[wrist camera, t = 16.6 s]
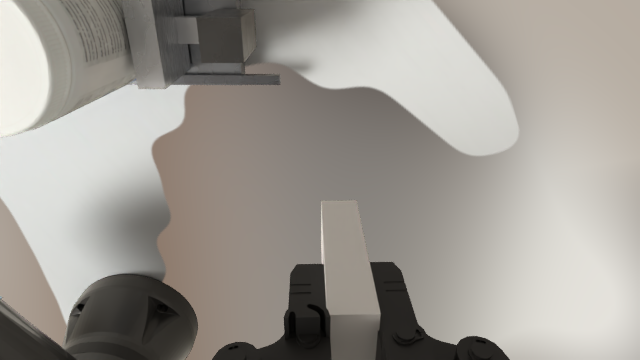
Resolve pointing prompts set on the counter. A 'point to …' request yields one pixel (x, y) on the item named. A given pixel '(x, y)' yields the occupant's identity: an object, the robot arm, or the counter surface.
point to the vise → (197, 4)
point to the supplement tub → (59, 58)
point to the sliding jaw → (183, 39)
